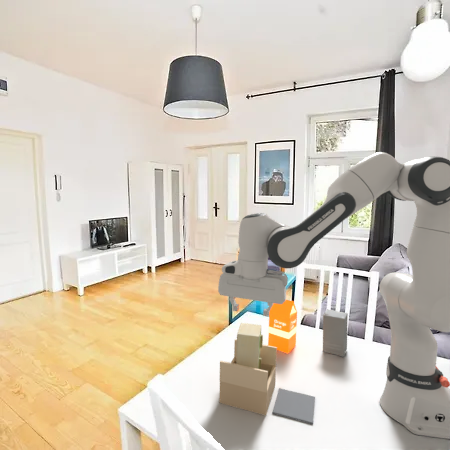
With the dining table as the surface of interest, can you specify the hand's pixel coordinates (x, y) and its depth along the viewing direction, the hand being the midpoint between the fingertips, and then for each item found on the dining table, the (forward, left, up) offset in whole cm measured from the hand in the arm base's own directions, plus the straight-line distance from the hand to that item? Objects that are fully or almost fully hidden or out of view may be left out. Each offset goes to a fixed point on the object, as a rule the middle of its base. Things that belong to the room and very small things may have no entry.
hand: (250, 313), depth 89 cm
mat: (-14, 0, -26) cm, 30 cm away
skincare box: (-25, -37, -26) cm, 52 cm away
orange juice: (-5, -33, -26) cm, 42 cm away
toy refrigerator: (0, 0, -26) cm, 26 cm away
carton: (0, 0, -26) cm, 26 cm away
